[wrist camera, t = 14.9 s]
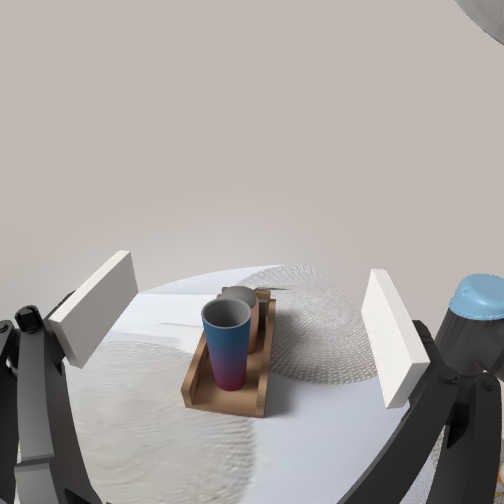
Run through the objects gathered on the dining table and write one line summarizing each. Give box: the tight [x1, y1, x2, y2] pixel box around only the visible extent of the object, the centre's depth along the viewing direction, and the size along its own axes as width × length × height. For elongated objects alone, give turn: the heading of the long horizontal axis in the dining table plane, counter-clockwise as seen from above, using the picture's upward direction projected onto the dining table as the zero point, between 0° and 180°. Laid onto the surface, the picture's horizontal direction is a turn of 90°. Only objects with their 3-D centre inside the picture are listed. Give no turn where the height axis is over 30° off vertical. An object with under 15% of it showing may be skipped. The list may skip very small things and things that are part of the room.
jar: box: [220, 286, 259, 354], centre depth 51 cm, size 7×7×11 cm
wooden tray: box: [181, 287, 276, 418], centre depth 49 cm, size 26×12×7 cm, turn 173°
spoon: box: [232, 285, 297, 290], centre depth 72 cm, size 4×21×2 cm, turn 99°
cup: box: [201, 298, 252, 391], centre depth 41 cm, size 7×7×15 cm
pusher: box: [218, 295, 267, 330], centre depth 55 cm, size 1×9×9 cm, turn 83°
